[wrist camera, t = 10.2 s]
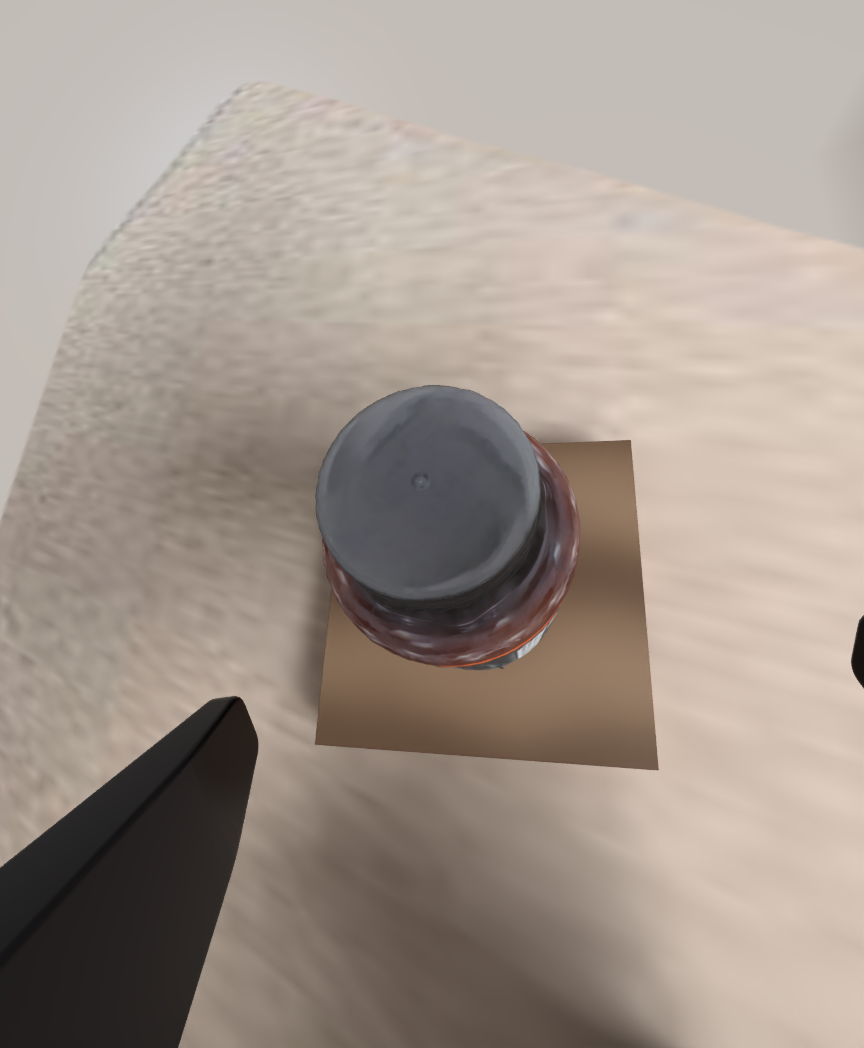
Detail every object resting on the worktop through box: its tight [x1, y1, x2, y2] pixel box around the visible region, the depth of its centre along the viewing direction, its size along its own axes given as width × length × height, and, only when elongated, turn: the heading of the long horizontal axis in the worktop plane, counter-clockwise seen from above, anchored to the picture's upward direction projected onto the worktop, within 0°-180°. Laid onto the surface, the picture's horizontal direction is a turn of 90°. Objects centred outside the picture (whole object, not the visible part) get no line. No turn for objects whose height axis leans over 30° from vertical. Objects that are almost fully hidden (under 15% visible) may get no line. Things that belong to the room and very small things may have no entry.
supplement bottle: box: [316, 385, 580, 670], centre depth 14 cm, size 6×6×11 cm
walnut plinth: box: [315, 440, 658, 770], centre depth 20 cm, size 12×12×2 cm
